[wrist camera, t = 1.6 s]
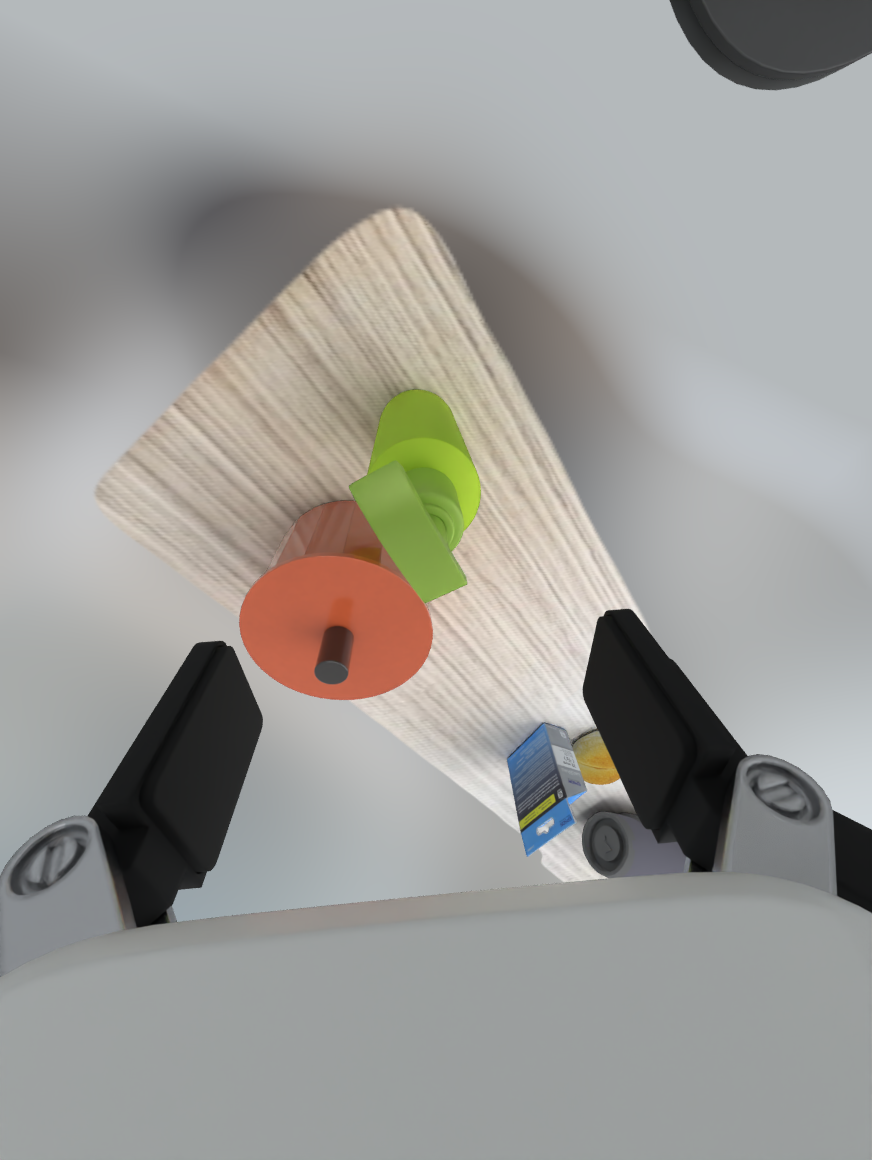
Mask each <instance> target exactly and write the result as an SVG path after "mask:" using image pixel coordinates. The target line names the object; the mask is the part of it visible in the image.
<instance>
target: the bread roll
mask: <svg viewBox="0 0 872 1160" xmlns="http://www.w3.org/2000/svg"><path fill="white" fill-rule="evenodd" d="M572 748H573V751H574V754H575V757H576V760H577V763H578V766H579V769H580V771H581V774H582V777H583V780H584V781H586V782H588V783H591V784H598V785H603V784H610V783H613V782H615V781H616V780H618V779H619V778H620V776H619V774H618V772H617V770H616V768H615V765H614V763H613V761H612V759H611V757H610V755H609V753H608V750H607V748H606V746H605V744H604V742H603V740H602V737H601V735H600V733H599V731H595V732H592V733H590V734H587V735H585V736H583V737H582V738H580V739H579V740H577V741H576V742H575V744H574V745H573V747H572Z"/></svg>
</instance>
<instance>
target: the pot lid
mask: <svg viewBox="0 0 872 1160" xmlns="http://www.w3.org/2000/svg"><path fill="white" fill-rule="evenodd" d="M239 626H240V632H241V637H242V640H243V643H244V645H245V647H246V649H247V651H248V653H249V654H250V656H251V657H252V659H253V660H254V661H255V663H256V664H257V665H258V666H259V667H260V668H261V669H262V670H263V671H264V672H265V673H266V674H268V675H269V676H270V677H272V678H273V679H274V680H276V681H277V682H279V683H281V684H283V685H285V686H286V687H288V688H291V689H293V690H295V691H298V692H300V693H304V694H307V695H310V696H314V697H319V698H326V699H334V700H355V699H363V698H368V697H373V696H377V695H380V694H383V693H386V692H388V691H390V690H393V689H395V688H396V687H398V686H400V685H402V684H403V683H405V682H406V681H407V680H409V679H410V678H411V677H412V676H413V675H414V674H415V673H416V672H417V671H418V670H419V669H420V668H421V666H422V665H423V664H424V662H425V660H426V658H427V657H428V654H429V651H430V649H431V644H432V639H433V627H432V620H431V615H430V612H429V609H428V607H427V605H426V603H424V602H423V601H422V600H421V598H420V597H419V596H418V594H417V593H416V592H415V590H414V589H413V588H412V586H411V585H410V584H409V582H408V581H407V579H406V578H404V577H403V576H402V575H401V574H399V573H398V572H396V571H394V570H393V569H391V568H390V567H388V566H386V565H384V564H381V563H379V562H377V561H375V560H372V559H369V558H366V557H362V556H358V555H353V554H347V553H337V552H320V553H312V554H306V555H302V556H298V557H294V558H291V559H289V560H286V561H284V562H281V563H279V564H278V565H276V566H274V567H272V568H270V569H269V570H268V571H267V572H265V573H264V574H263V575H261V576H260V577H259V579H258V580H257V581H256V582H255V583H254V584H253V585H252V587H251V588H250V590H249V591H248V593H247V595H246V597H245V599H244V601H243V604H242V607H241V611H240V620H239Z"/></svg>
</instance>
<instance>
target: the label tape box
mask: <svg viewBox="0 0 872 1160" xmlns="http://www.w3.org/2000/svg"><path fill="white" fill-rule="evenodd" d="M507 762H508V768H509V773H510V778H511V784H512V789H513V795H514V800H515V805H516V811H517V816H518V821H519V826H520V831H521V835H522V839H523V843H524V847H525V851H526V855H527V857H529V856H530V855H531V854H532V853H533V852H535V851H536V850H537V849H539V848H540V847H542V846H543V845H545V844H546V843H547V842H549V841H550V840H552V839H553V838H555V837H556V836H557V835H559V834H560V833H562V832H563V831H564V830H566V829H568V828H569V827H571V826H572V825H574V824H576V823H577V821H576V819H575V818H574V815H573V812H572V809H571V807H570V804H571V803H573V802H574V801H575V800H576V799H578V798H579V797H580V796H581V795H583V794H584V793H585V792H586V791H587V789H586V786H585V783H584V780H583V777H582V774H581V771H580V769H579V766H578V763H577V760H576V757H575V754H574V751H573V748H572V746H571V743H570V740H569V737H568V734H567V732H566V730H564V729H561V728H558V727H556V726H553V725H550V724H546V723H543V724H542V725H541V726H540V727H539V728H538V729H537V730H536V731H535V732H534V733H533V734H532V735H531V736H530V738H529V739H528V740H526V741H525V742H524V743H523V744H522V745H521V746H520V747H519V748H518V749H517V750H516V751H515V752H514V753H513V754H512V755H511V756H510V757H509V758H508V759H507ZM552 818H553V819H554V824H553V825H552V826H550V827H549V831H548V832H546V831H543V832H542V833H538V828H540V827H542V826H544V825H545V824H546V823H547V822H549V821H550V820H551V819H552Z"/></svg>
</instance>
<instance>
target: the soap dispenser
mask: <svg viewBox="0 0 872 1160" xmlns="http://www.w3.org/2000/svg"><path fill="white" fill-rule="evenodd" d="M349 489H350V491H351V493H352V495H353V497H354V499H355V500H356V502H357V504H358V506H359V507H360V509H361V511H362V512H363V514H364V516H365V518H366V519H367V521H368V523H369V524H370V526H371V528H372V529H373V531H374V532H375V534H376V536H377V537H378V539H379V540H380V542H381V543H382V545H383V547H384V548H385V550H386V551H387V553H388V554H389V556H390V557H391V558H392V560H393V561H394V563H395V564H396V566H397V567H398V568H399V570H400V571H401V573H402V574H403V575H404V577H405V578H406V579H407V581H408V582H409V584H410V585H411V586H412V588H413V589H414V590H415V592H416V593H417V594H418V596H419V597H420V598H421V600H422V601H423V602H424V603H427V602H429V601H432V600H434V599H436V598H438V597H440V596H443V595H445V594H447V593H449V592H451V591H454V590H456V589H458V588H460V587H463V586H465V585H467V580H466V576H465V574H464V572H463V571H462V569H461V567H460V566H459V564H458V562H457V561H456V559H455V557H454V556H453V554H452V552H451V551H453V550H454V549H455V548H456V546H457V545H458V544H459V542H460V540H461V538H462V535H463V531H464V530H465V529H466V528H467V527H468V526H469V525H470V523H471V522H472V520H473V519H474V517H475V515H476V513H477V510H478V507H479V503H480V497H481V487H480V481H479V477H478V474H477V471H476V469H475V466H474V464H473V462H472V459H471V457H470V455H469V452H468V450H467V447H466V445H465V443H464V440H463V438H462V435H461V433H460V431H459V428H458V426H457V424H456V421H455V419H454V416H453V414H452V412H451V410H450V408H449V407H448V405H447V404H446V403H445V402H444V401H443V400H442V399H441V398H440V397H438V396H437V395H435V394H433V393H431V392H429V391H425V390H409V391H405V392H403V393H400V394H398V395H397V396H395V397H394V398H393V399H392V400H391V401H390V402H389V403H388V404H387V405H386V407H385V408H384V410H383V412H382V415H381V418H380V421H379V426H378V430H377V434H376V439H375V443H374V447H373V452H372V456H371V460H370V465H369V469H368V473H367V475H366V476H365V477H363V478H361V479H359V480H358V481H356V482H354V483H352V484H351V485H349Z"/></svg>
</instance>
